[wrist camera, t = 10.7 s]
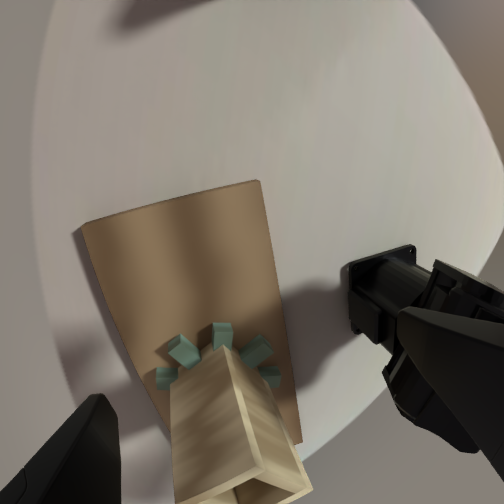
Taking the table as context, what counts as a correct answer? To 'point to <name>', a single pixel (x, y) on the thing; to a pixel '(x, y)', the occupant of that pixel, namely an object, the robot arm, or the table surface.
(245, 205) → the gear board
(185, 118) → the table surface
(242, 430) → the open-ended square tube
